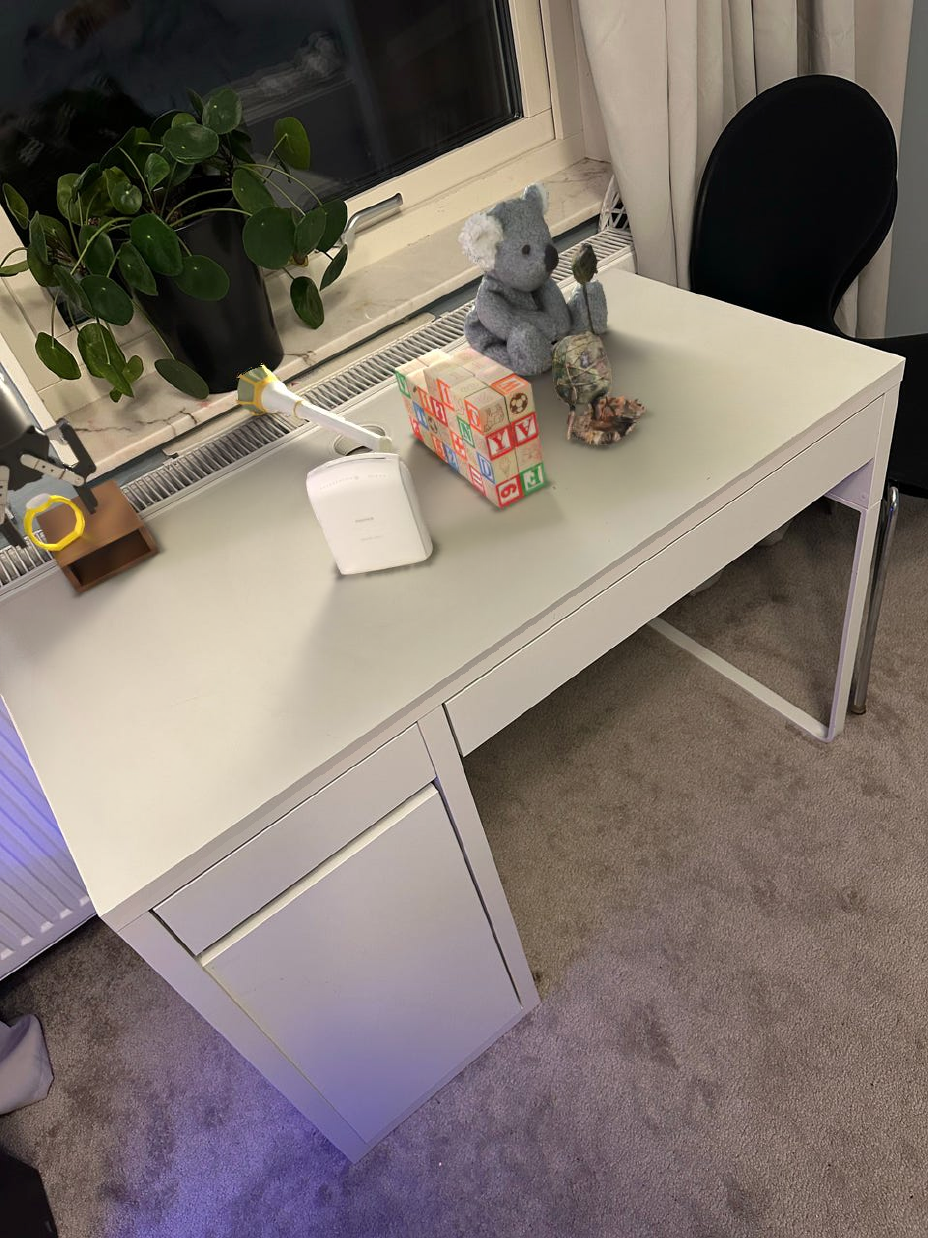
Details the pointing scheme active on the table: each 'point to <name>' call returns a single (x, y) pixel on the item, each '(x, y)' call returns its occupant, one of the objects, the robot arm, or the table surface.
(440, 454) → the stack of blocks
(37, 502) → the watch
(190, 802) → the table surface
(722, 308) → the table surface
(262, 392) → the light stick
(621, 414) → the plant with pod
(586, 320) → the koala plush
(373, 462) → the photo printer
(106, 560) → the shelf
